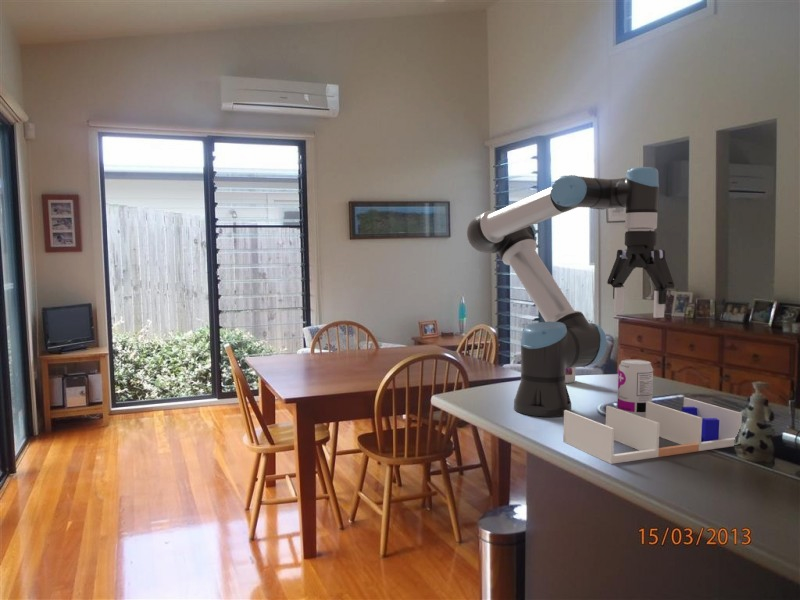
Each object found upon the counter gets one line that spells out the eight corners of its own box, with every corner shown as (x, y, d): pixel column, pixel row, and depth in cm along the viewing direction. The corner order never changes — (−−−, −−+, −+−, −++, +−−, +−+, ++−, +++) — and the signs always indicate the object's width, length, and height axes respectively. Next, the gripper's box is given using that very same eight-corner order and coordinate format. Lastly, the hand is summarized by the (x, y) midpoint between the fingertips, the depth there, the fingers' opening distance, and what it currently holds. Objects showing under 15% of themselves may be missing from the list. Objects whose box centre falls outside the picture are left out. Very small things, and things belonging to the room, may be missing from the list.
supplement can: (617, 423, 159) (619, 363, 158) (616, 415, 167) (618, 358, 166) (652, 425, 157) (654, 365, 156) (649, 417, 165) (651, 359, 164)
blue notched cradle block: (674, 431, 153) (675, 406, 152) (693, 431, 153) (694, 406, 152) (697, 446, 141) (698, 419, 140) (718, 446, 141) (719, 419, 140)
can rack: (610, 463, 129) (611, 428, 128) (563, 441, 144) (564, 410, 143) (740, 444, 141) (742, 413, 141) (684, 426, 156) (685, 397, 156)
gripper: (692, 229, 150) (689, 319, 152) (617, 231, 173) (614, 309, 174) (668, 228, 147) (665, 320, 149) (595, 231, 170) (592, 310, 171)
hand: (638, 314), depth 161 cm, fingers open, 13 cm apart
